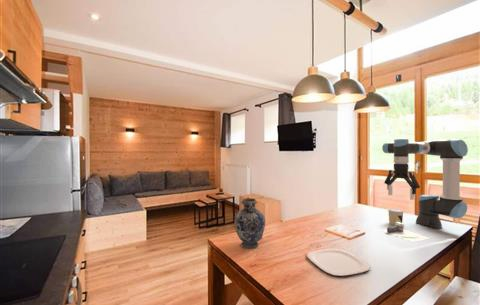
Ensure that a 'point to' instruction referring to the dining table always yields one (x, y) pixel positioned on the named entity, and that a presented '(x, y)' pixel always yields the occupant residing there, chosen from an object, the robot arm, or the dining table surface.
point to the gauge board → (407, 235)
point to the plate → (337, 262)
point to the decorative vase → (249, 224)
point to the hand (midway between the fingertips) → (400, 197)
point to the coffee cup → (395, 216)
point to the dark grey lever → (396, 227)
